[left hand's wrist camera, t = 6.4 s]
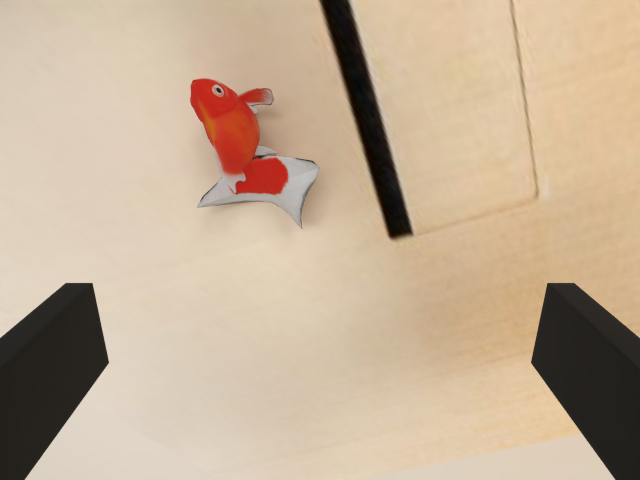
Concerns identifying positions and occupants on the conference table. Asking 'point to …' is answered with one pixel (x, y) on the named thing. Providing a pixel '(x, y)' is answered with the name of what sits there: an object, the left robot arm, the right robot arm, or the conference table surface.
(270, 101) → the fish
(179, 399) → the conference table surface
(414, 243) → the conference table surface
